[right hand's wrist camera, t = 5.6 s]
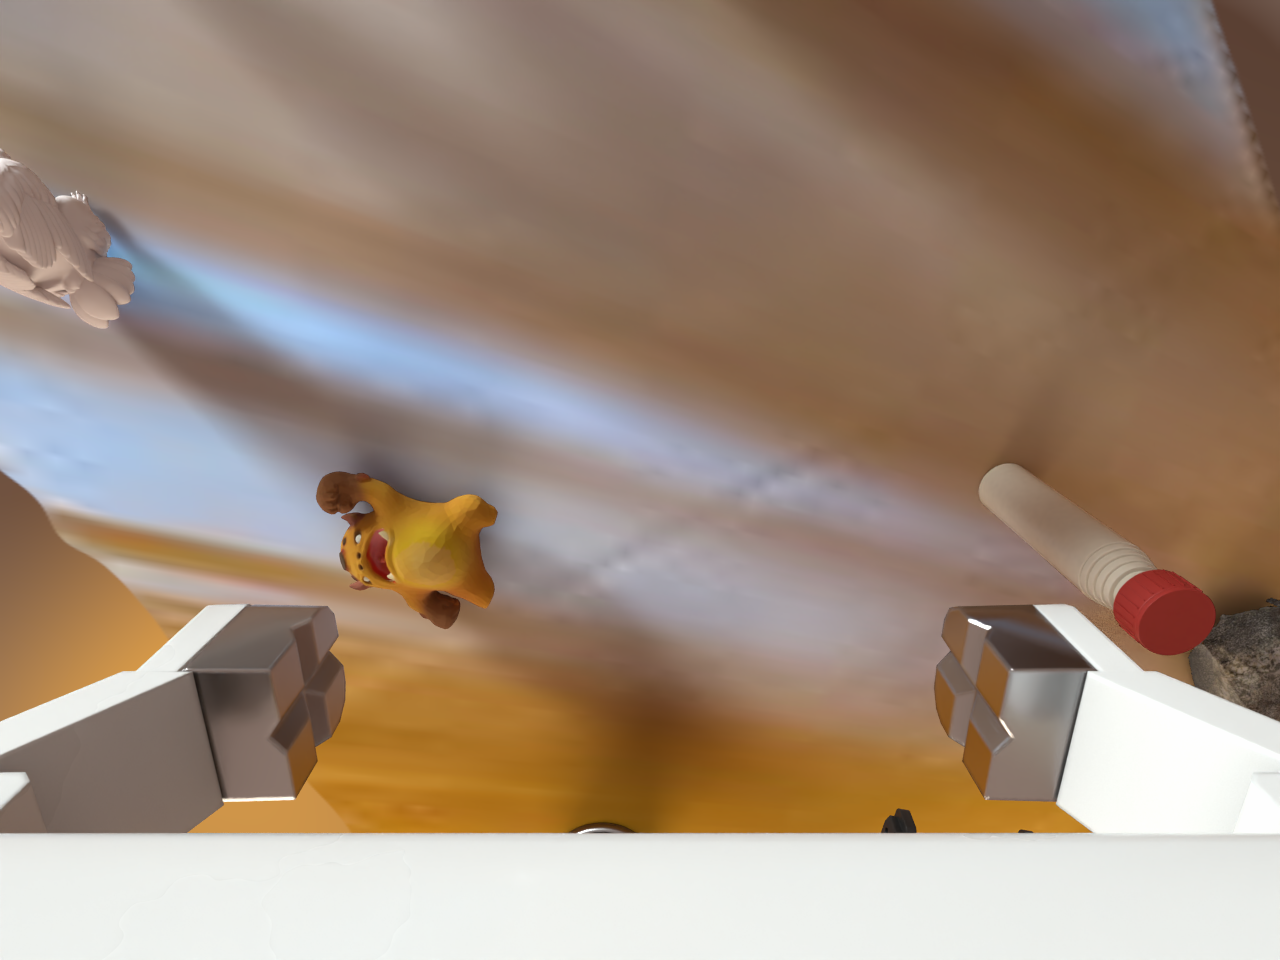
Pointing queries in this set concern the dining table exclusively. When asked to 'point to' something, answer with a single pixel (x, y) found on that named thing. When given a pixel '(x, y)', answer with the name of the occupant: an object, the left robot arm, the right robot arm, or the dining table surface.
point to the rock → (1242, 660)
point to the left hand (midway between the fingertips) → (970, 829)
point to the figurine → (58, 248)
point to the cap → (1164, 612)
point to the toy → (412, 544)
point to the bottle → (1063, 533)
